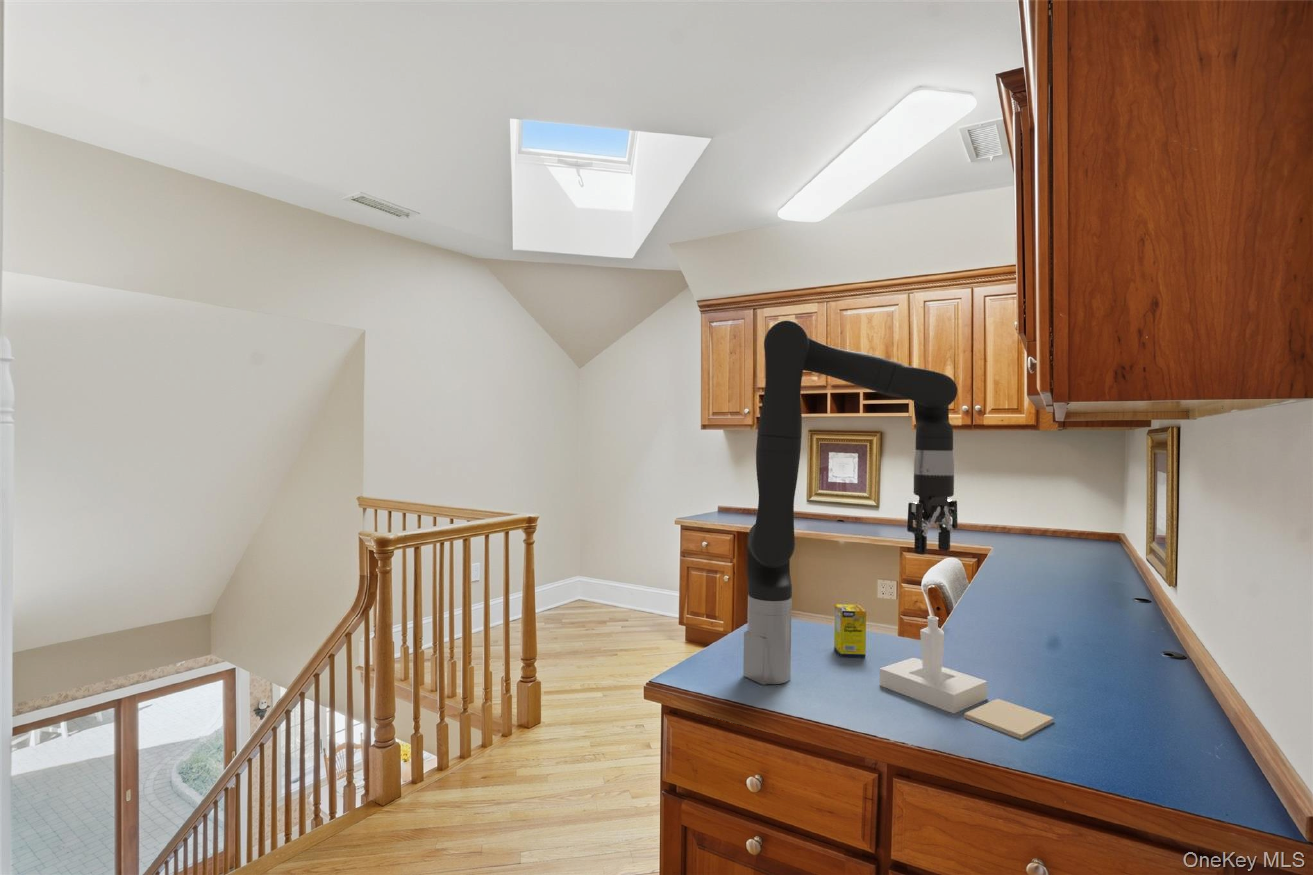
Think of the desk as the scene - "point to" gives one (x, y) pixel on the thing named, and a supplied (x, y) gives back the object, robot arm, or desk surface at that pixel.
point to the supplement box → (850, 631)
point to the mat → (1009, 718)
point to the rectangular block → (934, 685)
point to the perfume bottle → (932, 650)
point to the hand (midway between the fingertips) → (932, 552)
